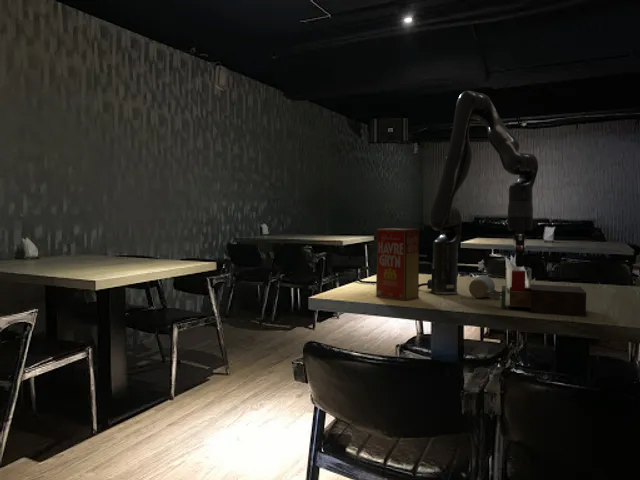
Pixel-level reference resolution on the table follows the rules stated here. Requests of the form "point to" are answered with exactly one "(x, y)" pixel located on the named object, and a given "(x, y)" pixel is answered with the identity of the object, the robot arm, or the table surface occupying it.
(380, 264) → the food packaging
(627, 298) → the table surface
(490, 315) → the table surface
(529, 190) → the robot arm
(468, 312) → the table surface
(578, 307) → the cabinet
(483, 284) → the ceramic mug
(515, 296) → the drawer
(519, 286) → the block
